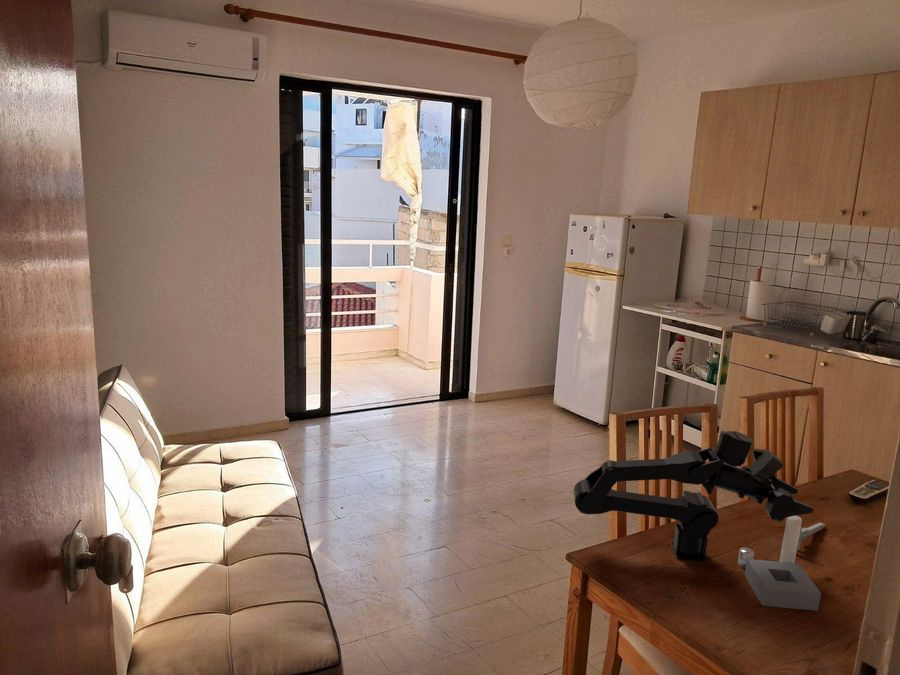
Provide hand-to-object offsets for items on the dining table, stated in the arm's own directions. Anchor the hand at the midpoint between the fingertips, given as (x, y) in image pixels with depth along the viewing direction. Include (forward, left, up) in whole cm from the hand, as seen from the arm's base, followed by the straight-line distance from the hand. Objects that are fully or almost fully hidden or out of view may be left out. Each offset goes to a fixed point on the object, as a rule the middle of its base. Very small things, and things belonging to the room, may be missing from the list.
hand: (804, 501), depth 149 cm
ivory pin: (-3, -2, -16) cm, 16 cm away
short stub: (-12, -2, -16) cm, 20 cm away
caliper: (+8, +13, -16) cm, 22 cm away
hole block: (-8, -12, -16) cm, 21 cm away
